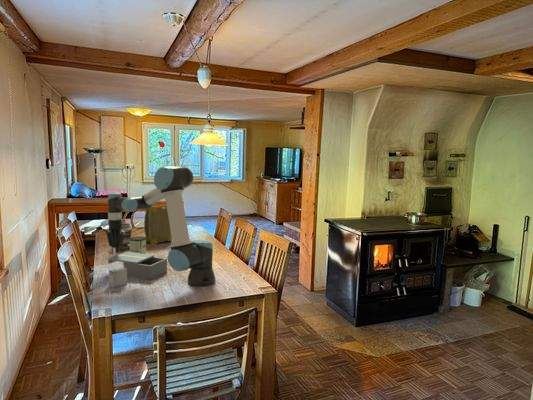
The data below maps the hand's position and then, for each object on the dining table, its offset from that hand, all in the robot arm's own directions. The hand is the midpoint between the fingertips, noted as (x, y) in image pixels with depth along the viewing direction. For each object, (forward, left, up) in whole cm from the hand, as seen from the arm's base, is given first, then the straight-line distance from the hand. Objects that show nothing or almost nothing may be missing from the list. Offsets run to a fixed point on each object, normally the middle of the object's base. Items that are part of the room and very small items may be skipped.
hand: (115, 257), depth 214 cm
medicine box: (-19, +21, -7) cm, 29 cm away
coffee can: (+3, -25, -7) cm, 26 cm away
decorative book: (+17, -70, -7) cm, 73 cm away
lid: (-11, 0, -1) cm, 11 cm away
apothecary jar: (+29, -44, -7) cm, 53 cm away
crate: (-21, 0, -7) cm, 22 cm away
